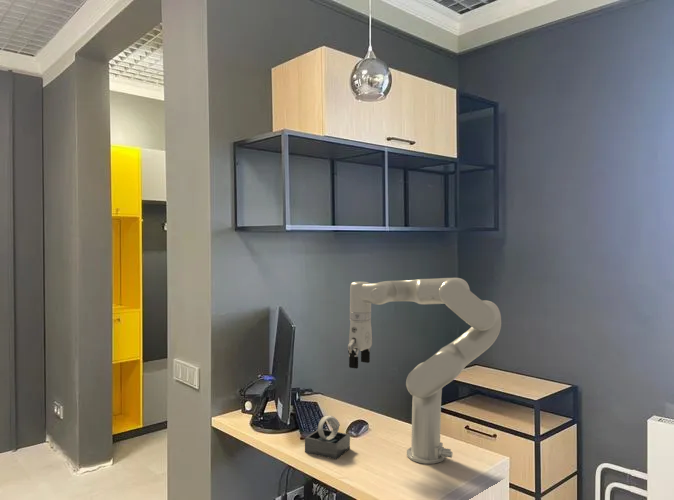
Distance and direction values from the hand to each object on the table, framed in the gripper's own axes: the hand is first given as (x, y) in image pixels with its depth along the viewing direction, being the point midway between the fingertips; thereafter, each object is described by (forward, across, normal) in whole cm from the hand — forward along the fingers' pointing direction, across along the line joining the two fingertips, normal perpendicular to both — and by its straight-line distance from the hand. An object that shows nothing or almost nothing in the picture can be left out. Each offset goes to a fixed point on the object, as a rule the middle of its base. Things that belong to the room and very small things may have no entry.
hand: (359, 365), depth 182 cm
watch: (+28, -10, +7) cm, 30 cm away
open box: (+28, -10, +7) cm, 31 cm away
